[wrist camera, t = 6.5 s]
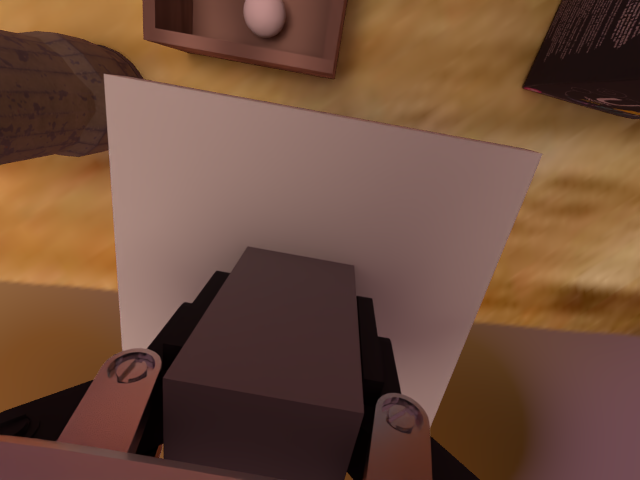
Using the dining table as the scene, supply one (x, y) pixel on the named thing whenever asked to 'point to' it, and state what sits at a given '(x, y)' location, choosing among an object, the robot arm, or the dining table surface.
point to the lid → (296, 263)
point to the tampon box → (592, 56)
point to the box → (251, 33)
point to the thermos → (54, 95)
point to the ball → (264, 16)
